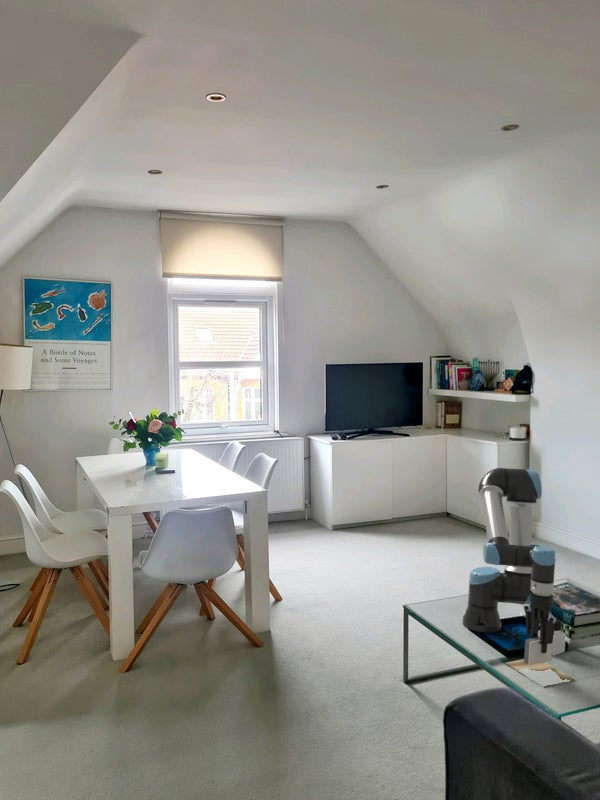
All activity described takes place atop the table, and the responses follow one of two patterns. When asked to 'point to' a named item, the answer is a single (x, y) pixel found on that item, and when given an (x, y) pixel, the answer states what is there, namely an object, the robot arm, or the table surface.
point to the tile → (535, 651)
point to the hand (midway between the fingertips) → (537, 659)
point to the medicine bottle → (557, 640)
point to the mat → (537, 668)
